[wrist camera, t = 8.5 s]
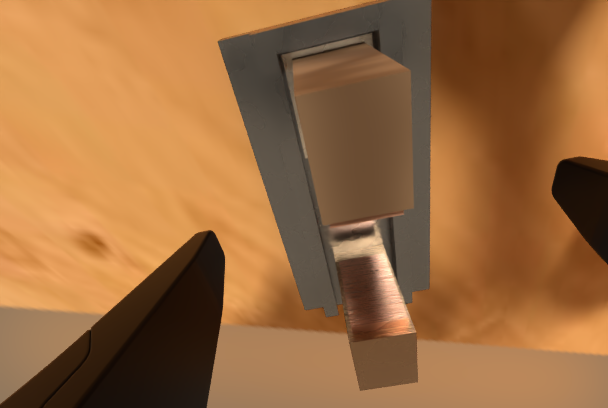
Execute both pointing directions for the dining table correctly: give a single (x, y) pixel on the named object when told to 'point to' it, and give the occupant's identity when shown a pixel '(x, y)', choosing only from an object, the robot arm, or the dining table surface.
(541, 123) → the dining table surface
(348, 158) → the tan wooden block
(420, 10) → the rail
